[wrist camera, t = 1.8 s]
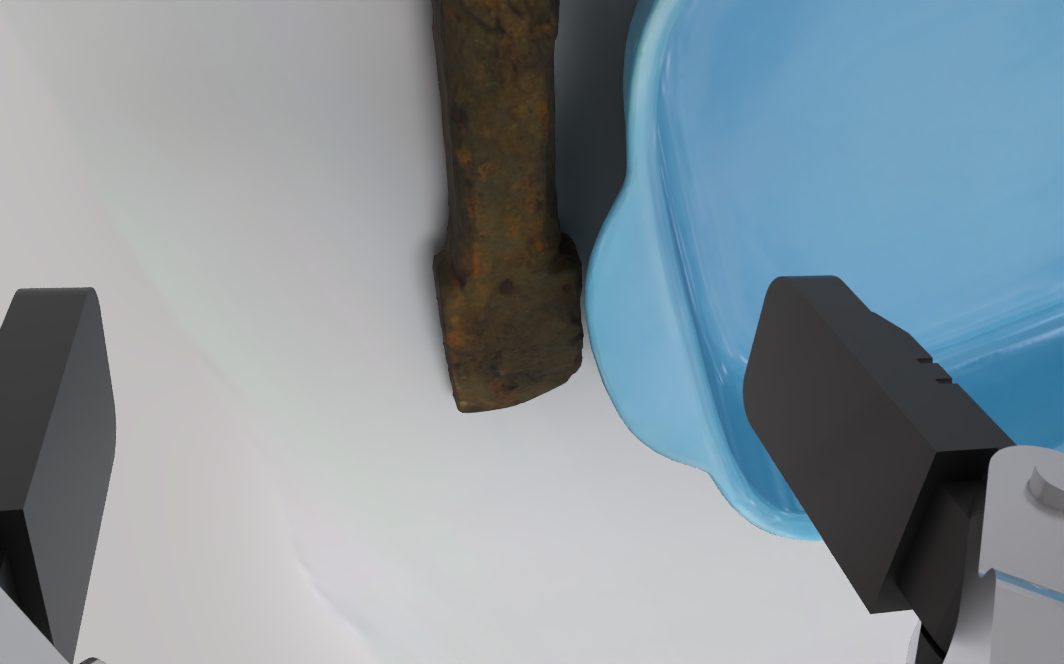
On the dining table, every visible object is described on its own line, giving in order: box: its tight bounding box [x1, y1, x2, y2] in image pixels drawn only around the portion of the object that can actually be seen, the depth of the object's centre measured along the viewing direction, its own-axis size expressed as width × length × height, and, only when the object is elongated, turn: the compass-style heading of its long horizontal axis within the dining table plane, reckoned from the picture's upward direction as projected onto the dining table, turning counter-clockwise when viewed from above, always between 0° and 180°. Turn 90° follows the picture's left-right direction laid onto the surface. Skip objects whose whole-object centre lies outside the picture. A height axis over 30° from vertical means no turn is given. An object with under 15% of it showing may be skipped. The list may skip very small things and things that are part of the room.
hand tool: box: [432, 0, 584, 413], centre depth 28 cm, size 19×4×5 cm
